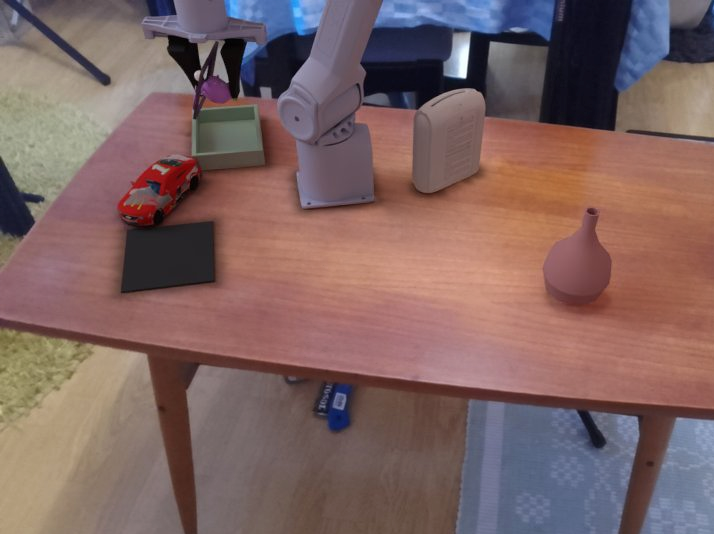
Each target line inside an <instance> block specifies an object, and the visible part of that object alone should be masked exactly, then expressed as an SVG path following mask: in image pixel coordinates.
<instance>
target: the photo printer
mask: <svg viewBox="0 0 714 534" xmlns="http://www.w3.org/2000/svg"><path fill="white" fill-rule="evenodd" d="M483 95H484V94H483V93H482V92H481V91H477V90H476V89H475V88H468V87H467V88H466V87H465V88H457V89H453V90H450V91H447V92H444V93H441V94H439V95H438V96H435V97H433V98H432V99H430V100H429V101H427V102H425V103H424V104H422V105H421V106H420V107H419V108H418V109H417V110H416V112H415V113H414V116H413V130H412V131H413V132H412V133H413V134H412V136H413V137H412V162H411V163H412V167H411V169H412V171H411V179H412V183H413V186H414V188H415V189H416V190H417V191H419V192H421V193H423V194H432V193H435V192H438V191H440V190H443V189H445V188H447V187H449V186H451V185H454V184H456V183H458V182H461V181H463V180H465V179H467V178H469V177H471V176H473V175H475V174H477V173H478V171H479V169H480V163H481V154H482V145H483V136H484V135H483V134H484V127H485V116H486V108H487V107H486V106H487V105H486V100H485V98H484V96H483Z"/></svg>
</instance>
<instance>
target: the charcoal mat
mask: <svg viewBox="0 0 714 534" xmlns="http://www.w3.org/2000/svg"><path fill="white" fill-rule="evenodd" d="M214 243H215V242H214V221H213V220H210V221H209V220H208V221H200V222H190V223H178V224H167V225H160V226H158V225H157V226H148V227H139V228H130V229H126V238H125V245H124V246H125V247H124V255H123V265H122V276H121V283H120V293H121V294H122V293H130V292H131V293H133V292H139V291H148V290H157V289H166V288H171V287H172V288H173V287H182V286H190V285H199V284H206V283H215V251H214V249H215V246H214Z"/></svg>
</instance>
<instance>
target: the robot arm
mask: <svg viewBox="0 0 714 534" xmlns="http://www.w3.org/2000/svg"><path fill="white" fill-rule="evenodd" d="M383 2H384V0H325V3H324V6H323V9H322V13H321V17H320V20H319V23H318V26H317V30H316V33H315V37H314V39H313V43H312V47H311V50H310V53H309V56H308V58H307V59H306V61H305V62H304V63H303V64H302V66H301V67H300V68H299V69H298V70H297V72H296V73H295V75H294V76H292V78H291V80H290V84H289V86H288V88H287V90H285V91H284V92H282V93H281V94H280V96H279V97H278V99H277V103H276V109H277V114H278V118H279V120H280V122H281V124H282V126H283V128H284V129H285V131H287V133H288V134H289V135H290V136H291V137H292V138H294V139H295V146H296V147H295V148H296V154H297V163H298V169H299V170H298V171H296V172H295V175H296V181H297V188H298V194H299V200H300V206H301V208H302V209H303V210H307V209H316V208H317V209H318V208H325V207H326V208H327V207H337V206H344V205H345V206H347V205H356V204H366V203H373V202H375V201H376V200H375V199H376V197H375V188H374V186H375V185H374V175H375V173H374V156H373V155H374V154H373V145H372V144H373V143H372V139H371V132H370V129H369V125H368V123H363V122H362V123H360V122H356V112H357V111H359V110H360V109H361V108H362V106H363V104H364V101H365V91H364V82H365V78H366V76H367V72H366V70H365V68H364V66H362V64H361V61H362V58H363V55H364V53H365V50H366V48H367V45H368V43H369V40H370V37H371V34H372V32H373V29H374V26H375V24H376V21H377V18H378V16H379V13H380V10H381V8H382V6H383ZM173 3H174V8H175V13H176V14H174V15H172V14H171V15H163V16H145V17H144V18H143V20H142V21H141V23H140V25H141V29H142V32H143V36H144V39H145V40H155V39H156V38H165V39H167V40H168V42H167V43H168V45H167V46H166V50H167V53H168V56H169V57H171V58H172V59H173V60H174V62H175V63H176V64H177V65H178V66H179V68H180V69H181V70H182V72H183V73H184V74H185V76H186V77H187V79H188V81H189V82H190V84H191V86H192V88H193V90H194V91H195V86H196V90H197V87H198V81H197V80H196V79H195V77H194V74H195V72H196V71H198V70H200V71H201V70H202V65H201V64H202V63H201V59H200V53H199V52H200V51H199V44H206V43H207V42H208V41H224V43H223V44H222V46H221V48H220V50H219V54H220V56H221V59H222V63H223V65H224V68H225V71H226V75H227V81H228V82H229V88H230V94H231V97H232V98H238V99H239V95H240V93H241V74H242V73H241V71H242V65H243V60H244V55H245V53H246V52H245V51H246V48H247V45H248V43H255V44H256V45H257V46H266V43H267V40H268V32H267V26H266V25H267V24H266V23H265V22H258V21H252V20H247V19H243V18H237V17H233V16H229V15H228V13H227V9H226V8H227V7H226V3H225V0H173ZM204 79H205V75H203V81H204ZM195 93H196V91H195ZM202 97H203V95H201V94H200V98H202Z"/></svg>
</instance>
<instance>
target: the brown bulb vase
mask: <svg viewBox="0 0 714 534" xmlns="http://www.w3.org/2000/svg"><path fill="white" fill-rule="evenodd" d="M600 215H601V211H600V210H599V208H597V207H594V206H588V207H586V208H585V209H584V213H583V218H582V222H581V226H580V227H579V228H578V229H577V230H576V231H575V232H574V233H572V235H570V236H567V237H564V238H562V239H559V240H558V241H556V242H555V243H554V244H553V245H552V246H551V247H550V249H549V251H548V253H547V255H546V256H545V259H544V262H543V266H542V274H543V279H544V285H545V290H546V291H547V292H548V294H549V295H550V296H551V297H552V298H553V299H554V300H556V301H557V302H559V303H562V304H565V305H567V306H574V307H582V306H589V305H591V304H592V303H594V302H596V301H597V300H598V299H599V297H600V296H601V295H602V294H603V292H604V291H605V290H606V289H607V288H608V286H609V285H610V282H611V277H612V265H613V264H612V263H613V260H612V258H611V255H610V253H609V252H608V250H607V249H606V248H605V247H604V246H603V244H602V243H601V242H600V240H599V237H598V235H597V234H598V233H597V232H596V228H597V224H598V222H599V217H600Z"/></svg>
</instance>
